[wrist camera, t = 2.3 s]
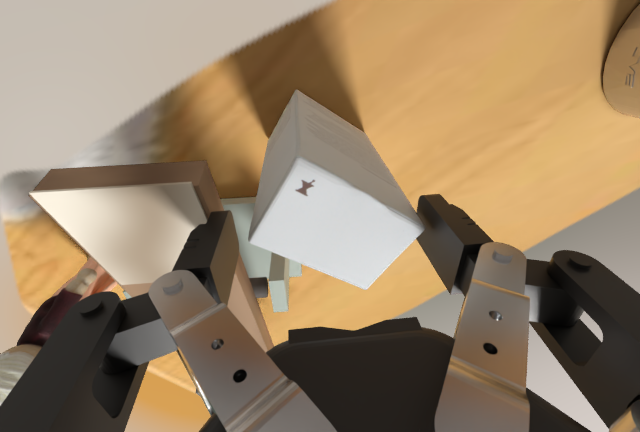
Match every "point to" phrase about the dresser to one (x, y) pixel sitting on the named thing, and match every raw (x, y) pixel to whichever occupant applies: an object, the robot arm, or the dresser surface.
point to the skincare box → (330, 197)
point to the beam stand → (260, 255)
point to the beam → (145, 225)
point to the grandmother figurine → (50, 322)
